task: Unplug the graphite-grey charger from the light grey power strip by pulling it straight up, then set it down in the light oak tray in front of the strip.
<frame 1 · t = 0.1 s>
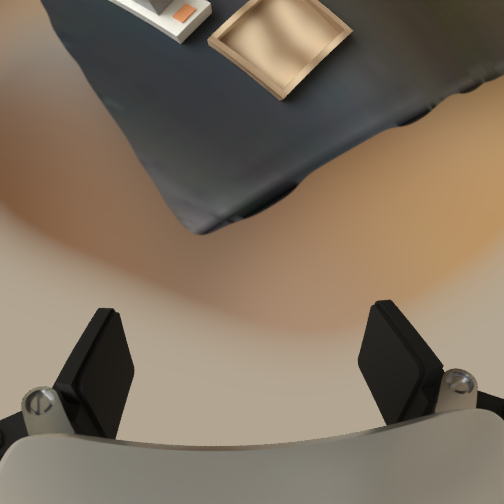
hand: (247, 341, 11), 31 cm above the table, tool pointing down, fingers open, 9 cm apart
tray: (280, 36, 32), on the table
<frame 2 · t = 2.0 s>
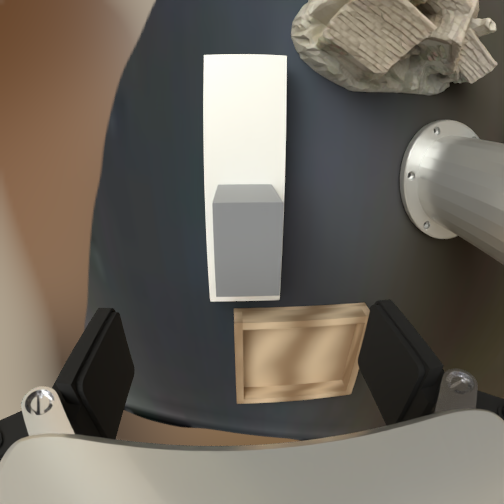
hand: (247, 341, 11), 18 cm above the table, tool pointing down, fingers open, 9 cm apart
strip: (243, 177, 26), on the table
ceramic cottage: (383, 39, 21), on the table
tray: (297, 350, 33), on the table
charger: (244, 222, 24), point 3 cm above the table, touching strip
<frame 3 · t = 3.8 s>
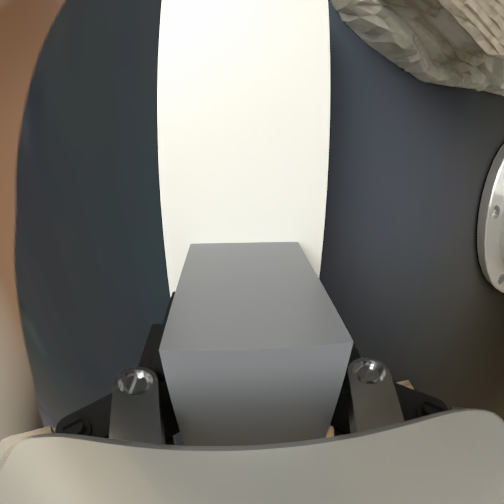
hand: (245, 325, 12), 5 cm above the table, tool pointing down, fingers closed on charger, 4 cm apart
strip: (241, 216, 15), on the table
ceramic cottage: (455, 10, 11), on the table
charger: (244, 311, 13), point 4 cm above the table, touching gripper, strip
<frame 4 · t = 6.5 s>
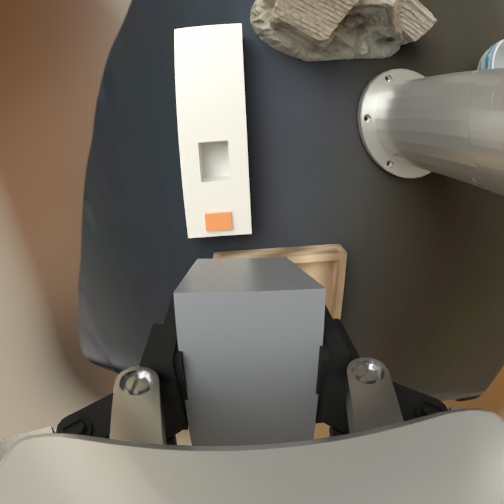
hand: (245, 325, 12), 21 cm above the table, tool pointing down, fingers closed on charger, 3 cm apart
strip: (214, 128, 28), on the table
ceramic cottage: (333, 15, 24), on the table
chinaware: (487, 96, 28), on the table
tray: (278, 295, 36), on the table
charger: (243, 321, 14), point 19 cm above the table, tilted 15°, touching gripper
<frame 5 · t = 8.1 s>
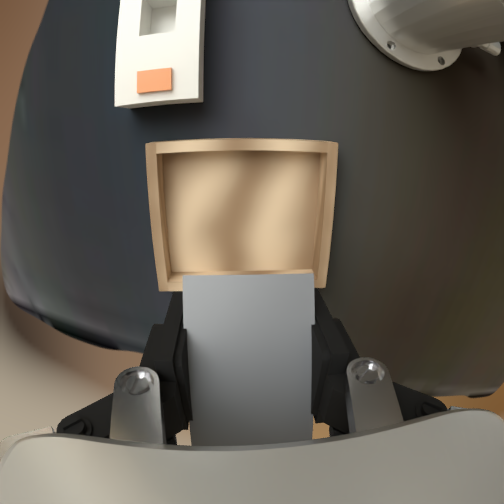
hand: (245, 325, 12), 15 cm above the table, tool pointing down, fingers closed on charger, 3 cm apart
tray: (241, 210, 25), on the table
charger: (243, 340, 15), point 13 cm above the table, tilted 30°, touching gripper
when the fingers open (6 cm above the table, at t = 9.4 s): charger moves 2 cm and tips over, resting on tray.
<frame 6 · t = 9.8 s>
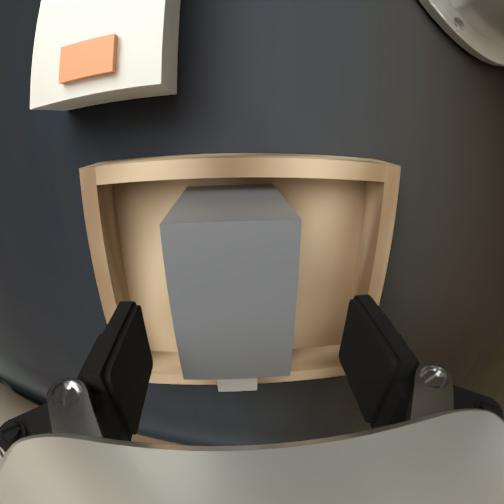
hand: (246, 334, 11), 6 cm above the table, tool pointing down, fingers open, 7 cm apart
tray: (240, 268, 16), on the table
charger: (234, 331, 14), point 4 cm above the table, tilted 90°, touching tray
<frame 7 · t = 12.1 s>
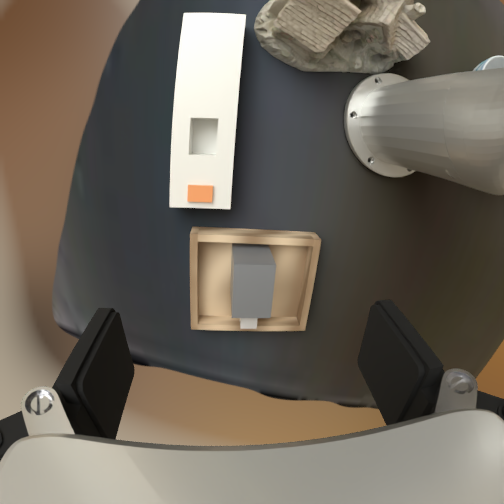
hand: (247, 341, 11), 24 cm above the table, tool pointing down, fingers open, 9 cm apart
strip: (207, 108, 29), on the table
ceramic cottage: (333, 29, 27), on the table
chinaware: (475, 110, 31), on the table
tray: (250, 277, 37), on the table
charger: (248, 303, 34), point 4 cm above the table, tilted 90°, touching tray
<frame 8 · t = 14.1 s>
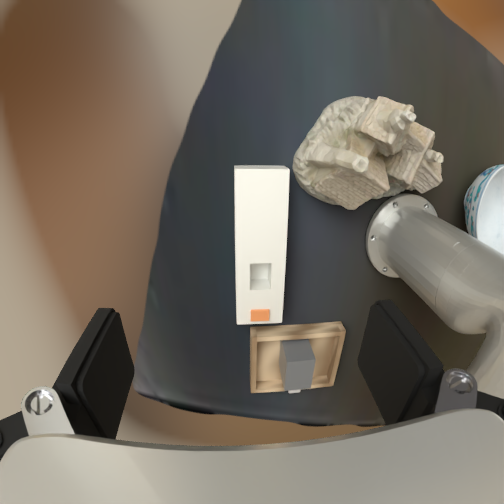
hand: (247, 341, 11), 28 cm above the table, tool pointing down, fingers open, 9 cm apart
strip: (258, 243, 40), on the table
ceramic cottage: (359, 158, 37), on the table
chinaware: (476, 200, 40), on the table
tray: (293, 354, 47), on the table
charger: (294, 375, 44), point 4 cm above the table, tilted 90°, touching tray
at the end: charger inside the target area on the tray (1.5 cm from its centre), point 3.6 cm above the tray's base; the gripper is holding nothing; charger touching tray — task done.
